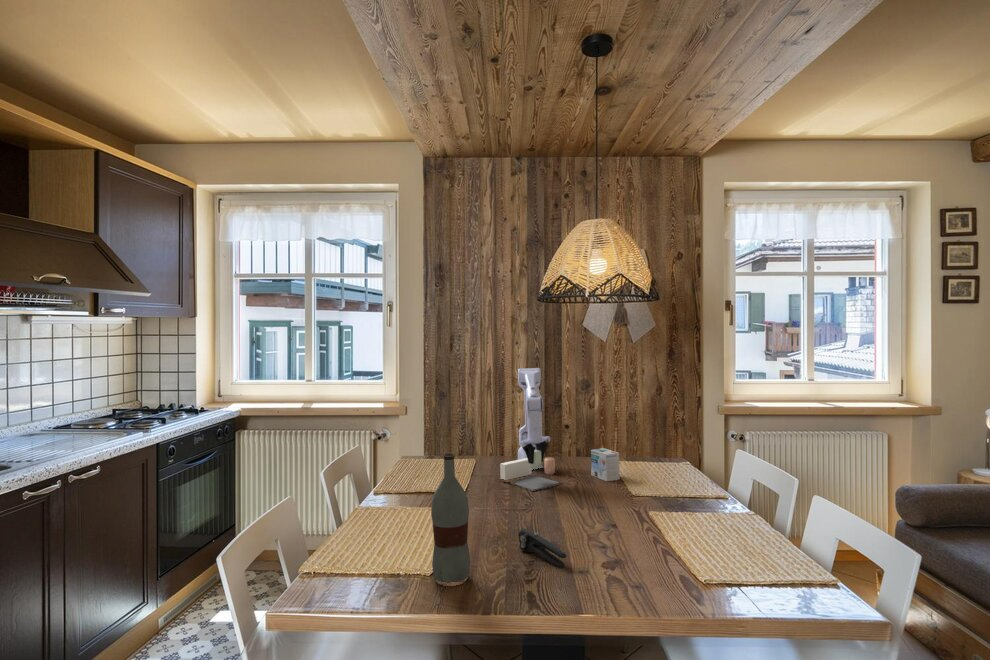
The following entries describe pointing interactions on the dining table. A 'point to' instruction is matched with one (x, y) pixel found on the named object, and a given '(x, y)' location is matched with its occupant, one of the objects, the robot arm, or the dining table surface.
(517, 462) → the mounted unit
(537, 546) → the can opener
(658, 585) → the dining table surface
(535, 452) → the sage part
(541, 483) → the pad
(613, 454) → the light bulb box
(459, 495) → the bottle
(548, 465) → the terracotta part
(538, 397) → the robot arm
